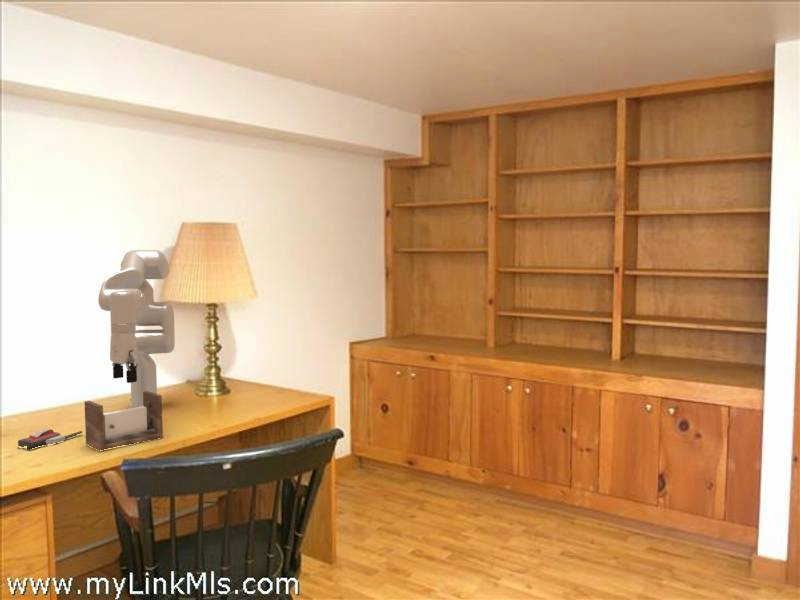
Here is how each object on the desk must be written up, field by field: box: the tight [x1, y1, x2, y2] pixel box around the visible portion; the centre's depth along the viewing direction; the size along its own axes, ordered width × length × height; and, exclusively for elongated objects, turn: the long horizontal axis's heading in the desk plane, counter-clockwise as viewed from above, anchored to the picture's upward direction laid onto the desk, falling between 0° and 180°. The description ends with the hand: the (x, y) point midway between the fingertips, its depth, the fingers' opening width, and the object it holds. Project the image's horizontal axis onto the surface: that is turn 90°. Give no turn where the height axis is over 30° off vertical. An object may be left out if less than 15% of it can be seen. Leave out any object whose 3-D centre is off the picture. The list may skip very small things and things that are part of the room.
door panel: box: [103, 406, 147, 439], centre depth 219 cm, size 14×4×9 cm, turn 137°
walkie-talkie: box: [17, 428, 83, 449], centre depth 219 cm, size 9×4×20 cm
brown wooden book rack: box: [84, 391, 164, 451], centre depth 219 cm, size 21×10×14 cm, turn 137°
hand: (125, 380), depth 220 cm, fingers open, 9 cm apart
